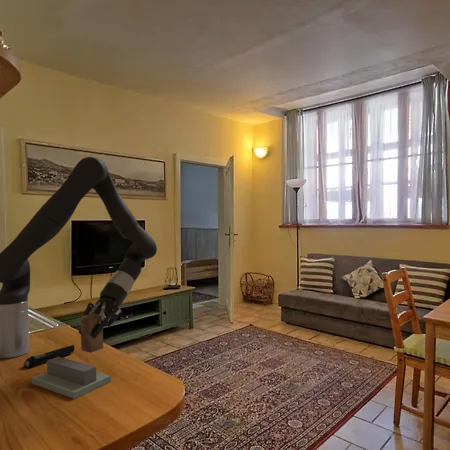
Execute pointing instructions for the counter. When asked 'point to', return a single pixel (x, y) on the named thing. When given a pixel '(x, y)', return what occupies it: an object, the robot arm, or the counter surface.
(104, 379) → the ridge board
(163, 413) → the counter surface
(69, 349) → the electric trimmer
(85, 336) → the brown wooden block
